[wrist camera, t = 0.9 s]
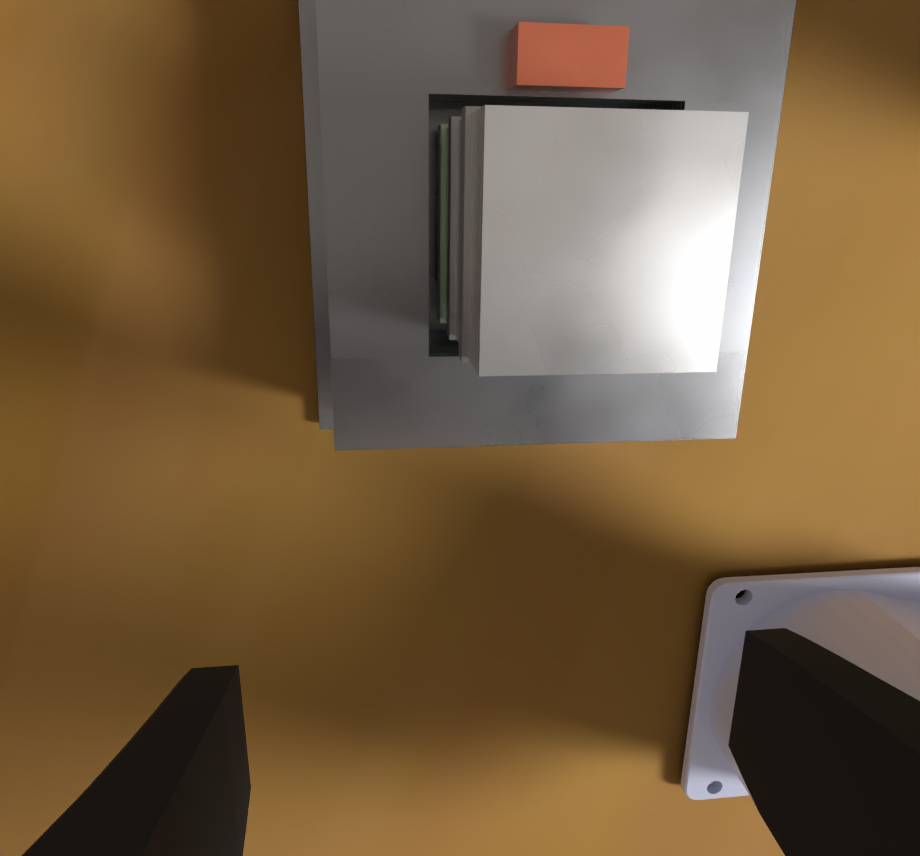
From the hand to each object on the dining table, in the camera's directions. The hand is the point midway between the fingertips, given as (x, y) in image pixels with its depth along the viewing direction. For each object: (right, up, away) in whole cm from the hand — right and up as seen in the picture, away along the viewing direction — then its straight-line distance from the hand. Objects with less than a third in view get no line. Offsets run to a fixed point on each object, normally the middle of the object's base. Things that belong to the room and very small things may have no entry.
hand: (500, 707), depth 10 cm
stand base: (+1, +9, +8) cm, 12 cm away
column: (+1, +9, +7) cm, 11 cm away
